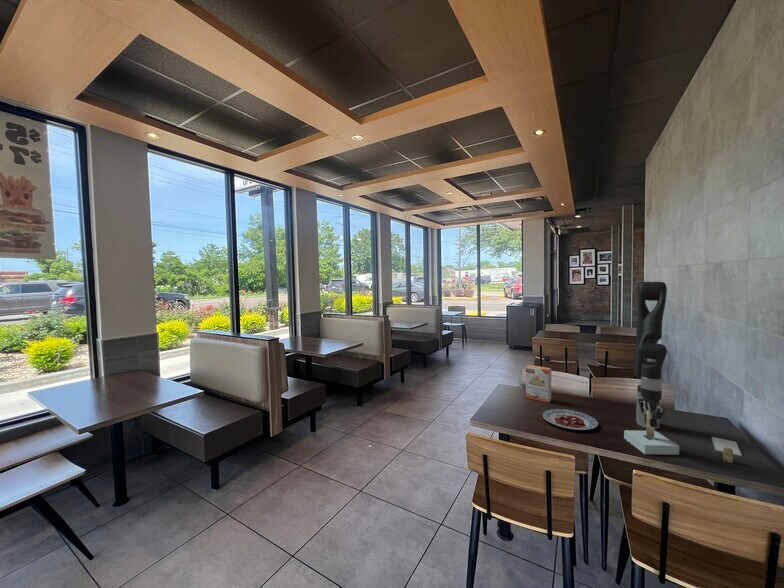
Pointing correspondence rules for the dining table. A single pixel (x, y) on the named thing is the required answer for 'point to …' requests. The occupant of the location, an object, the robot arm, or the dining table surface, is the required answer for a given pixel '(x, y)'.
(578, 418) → the ceramic plate
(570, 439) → the dining table surface
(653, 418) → the robot arm
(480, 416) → the dining table surface
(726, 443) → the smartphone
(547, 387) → the cracker box
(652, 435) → the long pin
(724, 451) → the short pin
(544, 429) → the dining table surface
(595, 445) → the dining table surface
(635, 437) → the hole block
